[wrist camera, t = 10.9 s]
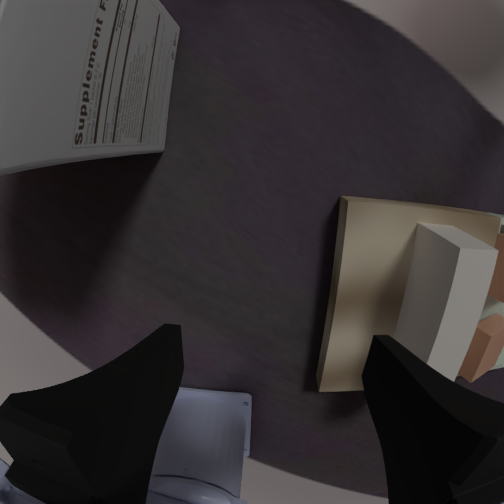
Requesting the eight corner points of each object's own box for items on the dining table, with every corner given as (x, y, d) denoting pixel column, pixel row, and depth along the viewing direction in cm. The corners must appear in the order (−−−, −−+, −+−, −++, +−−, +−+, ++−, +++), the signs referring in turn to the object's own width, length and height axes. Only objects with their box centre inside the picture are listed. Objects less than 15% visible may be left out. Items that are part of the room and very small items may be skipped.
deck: (442, 366, 23) (451, 380, 21) (315, 375, 23) (318, 391, 21) (485, 212, 18) (501, 218, 17) (340, 195, 19) (348, 201, 17)
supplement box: (54, 153, 19) (-124, 192, 4) (70, 38, 16) (-87, -10, 2) (166, 156, 19) (-31, 195, 4) (185, 25, 16) (62, -118, 2)
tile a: (480, 355, 22) (494, 365, 20) (455, 370, 21) (470, 383, 19) (497, 312, 21) (513, 322, 19) (473, 325, 19) (491, 336, 17)
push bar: (411, 376, 21) (434, 420, 16) (380, 379, 21) (399, 426, 16) (453, 225, 17) (498, 250, 12) (417, 222, 17) (460, 248, 12)
